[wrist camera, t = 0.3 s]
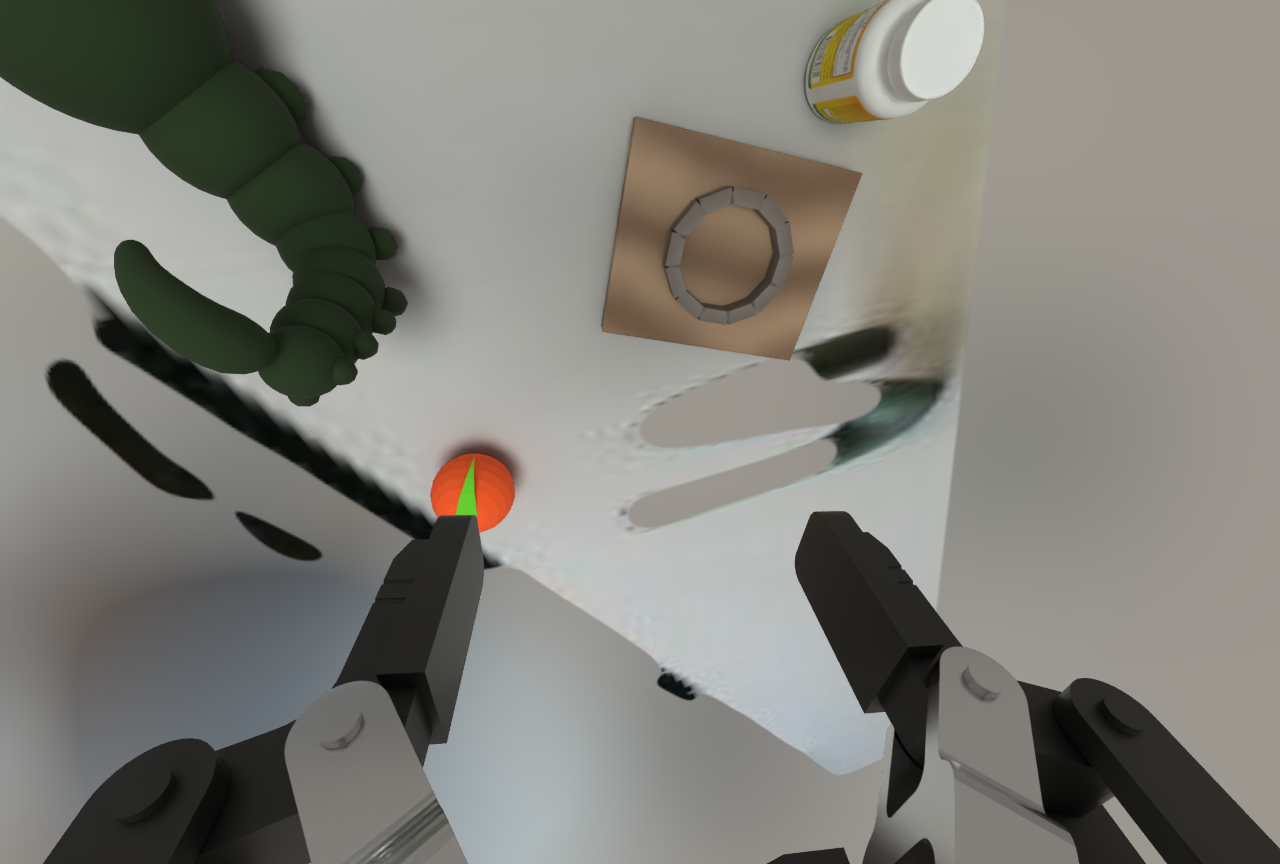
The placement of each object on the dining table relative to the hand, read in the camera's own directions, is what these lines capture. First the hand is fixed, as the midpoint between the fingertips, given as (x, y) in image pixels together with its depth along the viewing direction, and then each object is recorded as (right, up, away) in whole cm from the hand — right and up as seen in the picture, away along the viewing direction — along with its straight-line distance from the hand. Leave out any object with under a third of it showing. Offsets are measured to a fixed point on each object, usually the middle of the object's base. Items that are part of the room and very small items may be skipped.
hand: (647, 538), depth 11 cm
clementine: (-15, 0, +31) cm, 35 cm away
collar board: (+6, +16, +24) cm, 29 cm away
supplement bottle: (+13, +26, +19) cm, 34 cm away
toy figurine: (-23, +21, +17) cm, 36 cm away
